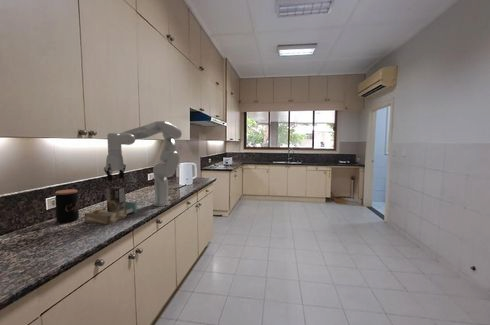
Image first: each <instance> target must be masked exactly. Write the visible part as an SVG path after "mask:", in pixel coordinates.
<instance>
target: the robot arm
mask: <svg viewBox="0 0 490 325" xmlns="http://www.w3.org/2000/svg"><path fill="white" fill-rule="evenodd" d="M158 134H162V136H163V138H164V141H165V143H164V147H163V149H162V151H161V154H160V161H161V163H156V164H155V165H154V166H153V167H152V168H153V169H152V172H153V178H154V202H152V206H155V207H166V206H169V205H170V204H171V201H170V200H171V196H169V181H168V178H170V177H173V176H174V174H175V172H176V170H177V167H178V165H179V162H180V154H179V153H178V152H177V151H176V149H177V142H176V140H177V139H180V138H181V137H182V135H183V134H182V130H181V129H180V128H179V127H177V126H176V125H173V124H172V123H170V122H168V121H166V120H160V121H153V122H150V123H148V124H144V125H142V126H139V127H135V128H132V129H129V130H125V131H123V132H118V133H117V132H113V133H112V132H111V133H109V132H108V134H107V155H106V162H105V166H104V167H103V170H104V173H105V175H106V177H107V180H106V181H108V182H112V181H113V172H117V171H118V176H119V177H118V178H119V179H125V171H126V167H127V164H124V158H123V154H122V153H123V151H122V145H125V146H130V145H133V144H134V143H135V141H136V140H142V139H147V138H150V137H154V135H158ZM165 205H166V206H165Z"/></svg>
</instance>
